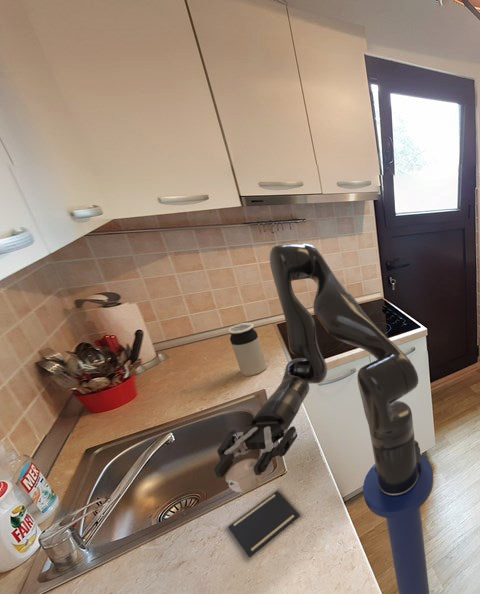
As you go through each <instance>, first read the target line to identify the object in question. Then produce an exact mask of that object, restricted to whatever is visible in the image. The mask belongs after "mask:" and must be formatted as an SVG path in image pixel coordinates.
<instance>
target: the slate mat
mask: <svg viewBox="0 0 480 594" xmlns="http://www.w3.org/2000/svg"><path fill="white" fill-rule="evenodd" d="M299 517H300V514H299V513H298V511H296V509H294V507H292V505H291V504H290V503H289V501H287V499H286V498H284V496H283V495H282V494H281V493H280V492H279V491H278V490H276V491H275V492H273V493H272V494H270V495H269V496H268V497H267V498H265V499H263V500H262V501H261V502H259V503H258V504H257V505H255V506H254V507H253V508H251V509H250V510H249V511H247V512H246V513H244V514H243V515H242V516H240V517H239V518H238V519H236V520H235V521H233V522H232V523H230V524H229V525H228V530H229V531H230V532H231V533H232V535H233V536H234V537H235V539H236V541H237V542H238V544H239V545H240V546H241V548H242V550H243V551H244V552H245V553H246V555H247V557H248V558H251V557H252V556H253V555H254V554H256V553H257V552H258V551H259V550H261V549H262V548H263V547H264V546H265V545H267V544H268V543H269V542H271V540H272V539H274V538H275V537H276V536H278V534H281V532H282V531H283V530H285V529H286V528H287V527H289V526H290V525H291V524H292V523H293V522H295V521H296V520H297V519H298V518H299Z"/></svg>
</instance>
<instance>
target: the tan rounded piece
mask: <svg viewBox="0 0 480 594" xmlns="http://www.w3.org/2000/svg"><path fill="white" fill-rule="evenodd" d="M258 460H259V459H257V458H245V459H243V460H240V461H238V462H236V463H234V464H233V465H232V466H231V467H230V468H229V469H228V471H227V472H226V473H225V482H226V483H227V484H228V488H230V489H231V491H232V492H235V493H247V492H249V491H251V490H253V489H255V488H257V487H259V486H260V485H261V484H262V483H263V482H264V480H265V479H266V477H267V475H268V468H267V469H266V470H265V471H264V472H262V473H261V475H255V472H254V466H255V465H256V463H257V462H258Z"/></svg>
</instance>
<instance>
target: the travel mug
mask: <svg viewBox="0 0 480 594" xmlns="http://www.w3.org/2000/svg"><path fill="white" fill-rule="evenodd" d="M227 332H228V333H229V334H230V337H229V341H230V344H231V347H232V349H233V352H234V356H235V358H236V361H237V365H238V367H239V370H240V374H241V375H242V376H245V377H250V376H256V375H258V374H260V373H262V372H263V371H265V370H266V369H267V366H268V365H267V362H266V359H265V356H264V351H263V349H262V345H261V342H260V339H259V336H258V331H256V330H255V329H254V323H251V322H242V323H238V324H234V325H233V326H231V327H230V328H228V330H227Z"/></svg>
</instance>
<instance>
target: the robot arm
mask: <svg viewBox="0 0 480 594" xmlns="http://www.w3.org/2000/svg"><path fill="white" fill-rule="evenodd" d="M269 266H270V271H271V275H272V278H273V282H274V286H275V288H276V289H275V290H276V293H277V296H278V300H279V302H280V306H281V309H282V312H283V316H284V320H285V325H286V333H287V340H288V341H287V342H288V348H289V351H290V353H291V354H293V355H295V356H299V357H298V358H294V359H291V360H290V361H288V362H287V364H286V366H285V369H284V374H283V377H282V379H281V383H280V384H279V386H278V387H277V388H276V389H275V390H274V392H273V393H272V394H271V395H270V396H269V397H268V399H267V400H266V401H265V402H264V404H263V405H262V406H261V408H260V409H259V410H258V411H257V413H256V414H255V415H254V417H253V418H252V421H251V424H250V426H248V427H247V428H246V429H245V430H244V431H239V432H237V430H236V429H232V430H230V431H229V432H228V433H227V435H226V437H225V438H224V439H223V441H222V443H220V445H219V447H218V448H217V450H216V452H217V454H218V457H219V459H220V460H219V461H218V463H217V464H216V466H215V467H214V474H215V476H216V478H217V479H221V478H223V477H225V476H226V473H227V472H228V470H230V469H231V467H232V466H233V465H234V461H236V460H237V459H238V458H240V457H241V456H245V455H247V454H248V453H249V452H251V451H255V450H265V452H262V453H261V455H260V457H259V459H257V460H258V462H257V463H256V465H255V466H254V472H255V475H261V473H262V472H264V471H265V470H266V469H267V470H268V467H269V465H270V464H271V462H272V460H274V459H275V458H276V457H281V458H282V457H284V456H286V454H287V452H288V451H290V448H291V447H292V446H293V444H294V442H295V441H296V439H297V438H298V431H297V429H296V426H294V425H293V426H291V424H292V423H293V421H294V419H296V418H295V417H296V416H297V415H298V413H299V410H300V408H301V406H302V404H303V402H304V400H305V399H306V398H307V395H308V394H309V391H310V384H313V385H314V384H320V383H322V382H323V381H324V380H325V379H326V377H327V374H328V366H327V361H326V359H325V357H324V356H323V353H322V351H321V348H320V346H319V341H318V333H317V332H318V331H317V325H316V321H315V319H314V317H313V315H312V313H311V312H310V311H309V310H308V309H307V308H306V307H305V306H304V305H303V304H302V302H301V301H300V300H299V299H298V297H297V296H296V294H295V292H294V290H293V285H292V282H293V281H298V280H299V281H300V280H306V279H309V280H312V281H314V283H315V285H316V286H317V287H316V293H315V295H314V299H313V313H314V316H315V317H316V319H317V320H318V322H319V323H320V325H321V326H322V327H323V329H324V330H325V331H326V333H327V334H328V335H329V336H331V337H332V338H334V339H336V340H338V341H339V342H342V343H344V344H347V345H350V346H353V347H356V348H359V349H362V350H364V351H365V352H367V353H369V355H372V356H373V357H374V358H375V359H376V360H374V361H372V362H370V363H368V364H365V365H363V366H362V367H360V368H359V370H358V371H357V376H356V377H357V386H358V390H359V394H360V398H361V401H362V406H363V407H362V408H363V411H364V412H363V413H364V415H365V419H366V422H367V425H368V429H369V435H370V440H371V447H372V452H373V459H374V464H375V465H376V468H375V471H376V472H377V477H378V485H379V489H380V491H381V492H382V493H383V494H385V495H386V496H389V497H399V496H402V495H405V494H407V493H408V492H410V491H411V490H412V489H413V488H414V487H415V485H416V484H417V481H418V477H419V474H420V473H421V464H420V457H421V455H422V453H421V448H420V444H419V442H418V440H415V431H414V421H413V412H412V409H411V407H410V406H409V405H408V404H407V403H406V402H404V401H401V400H399V399H401V398H402V397H405V396H406V395H408V394H409V393H411V392H412V391H413V390H415V389H416V388H417V387H418V384H419V375H418V372H417V370H416V368H415V366H414V364H413V363H412V360H411V359H409V357H408V356H407V355H406V354H405V353H404V352H403V351H402V350H401V349H400V348H399V347H398V346H397V345H396V344H395V343H394V342H393V341H392V340H391V339H390V338H389V337H388V336H387V335H386V334H384V333H383V332H382V331H381V329H380V328H379V327H378V326H377V325H376V323H374V321H373V320H372V319H371V318H370V317H369V316H368V314H367V313H366V312H365V310H364V309H363V308H362V306H361V305H360V304H359V302H358V301H357V300H356V299H355V298H354V297H353V296H352V294H351V293H350V292H349V291H348V290H347V289H346V288H345V286H344V285H343V283H341V281H340V280H339V279H338V277H337V276H336V274H334V272H333V270H332V269H331V268H330V266H329V265H328V263H327V261H326V260H325V257H324V256H323V255H322V254H321V252H320V250H318V248H317V247H316V246H315V245H313V244H311V243H307V242H306V243H289V244H287V243H286V244H277V245H274V246H273V247H271V249H270V252H269ZM301 357H302V358H301ZM278 441H279V442H278ZM276 442H278V443H277V445H276ZM244 445H245V446H244Z"/></svg>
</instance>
